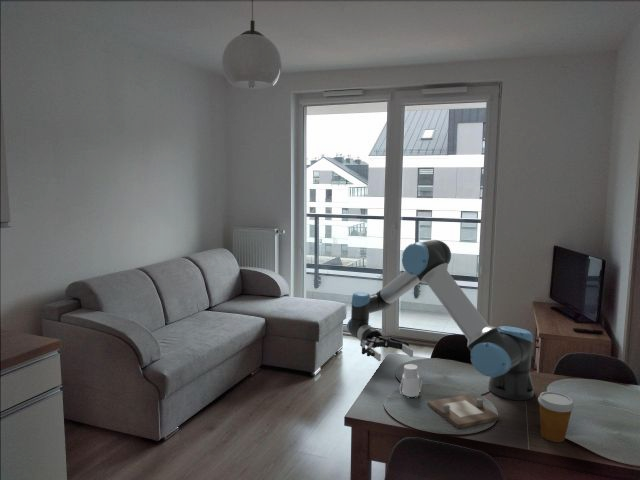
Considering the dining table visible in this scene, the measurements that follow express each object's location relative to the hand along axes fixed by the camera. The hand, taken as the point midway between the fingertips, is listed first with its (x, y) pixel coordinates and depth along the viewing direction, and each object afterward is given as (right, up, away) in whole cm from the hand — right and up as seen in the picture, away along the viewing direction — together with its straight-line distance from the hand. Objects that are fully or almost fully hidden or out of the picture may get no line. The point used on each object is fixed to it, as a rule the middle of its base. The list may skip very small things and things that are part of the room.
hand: (396, 355), depth 176 cm
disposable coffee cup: (+41, -16, -34) cm, 56 cm away
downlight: (+4, -12, -8) cm, 15 cm away
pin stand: (+18, -13, -21) cm, 31 cm away
